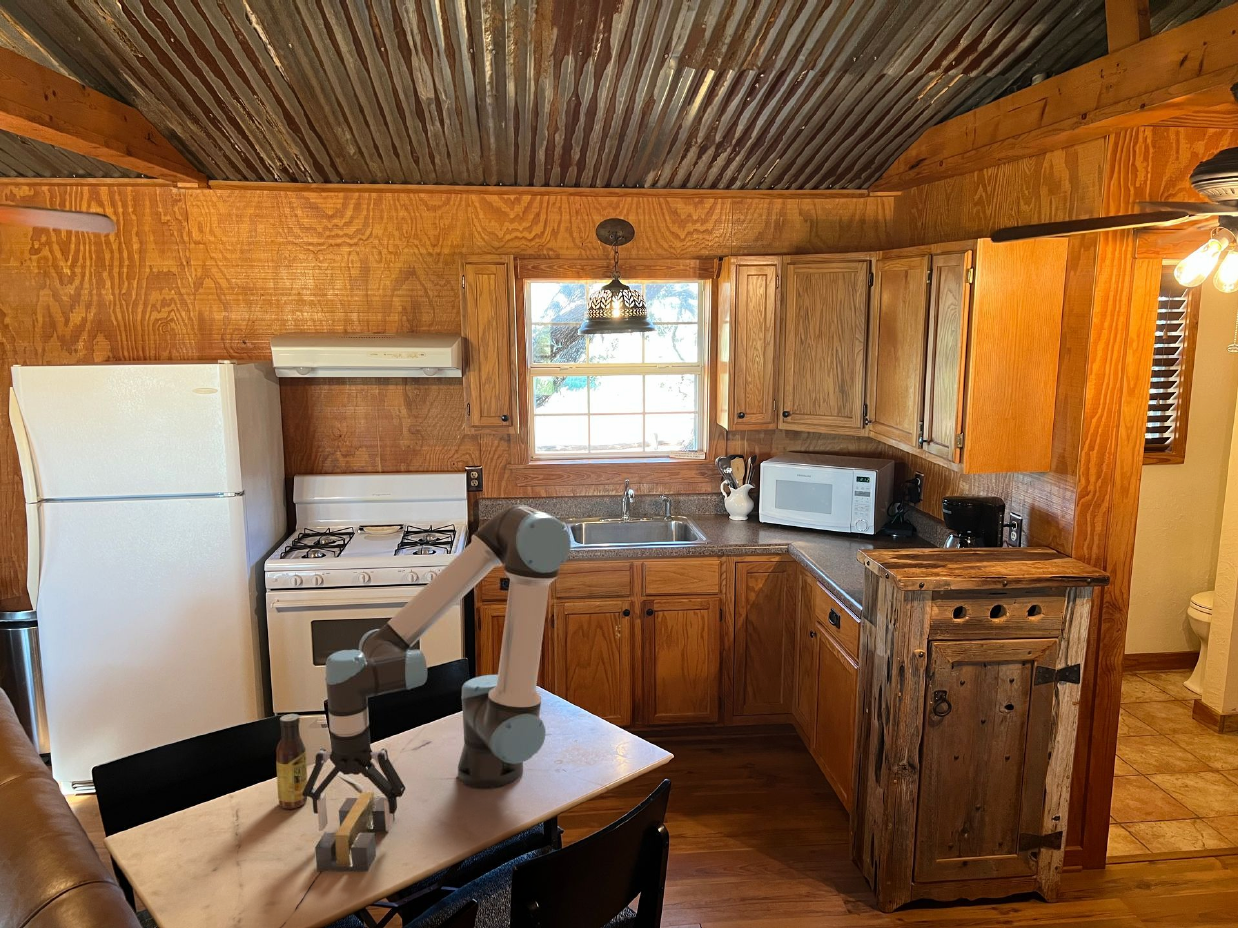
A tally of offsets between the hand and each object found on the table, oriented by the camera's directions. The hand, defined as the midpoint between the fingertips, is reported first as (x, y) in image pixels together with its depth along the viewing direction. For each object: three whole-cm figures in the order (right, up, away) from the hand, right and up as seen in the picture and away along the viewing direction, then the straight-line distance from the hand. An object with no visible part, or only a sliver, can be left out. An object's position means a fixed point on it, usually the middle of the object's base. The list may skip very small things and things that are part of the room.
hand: (356, 827), depth 180 cm
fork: (-7, -1, +24) cm, 25 cm away
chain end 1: (0, -3, +7) cm, 7 cm away
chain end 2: (0, -5, -6) cm, 7 cm away
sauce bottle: (-19, -2, +17) cm, 25 cm away
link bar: (0, -3, 0) cm, 3 cm away
